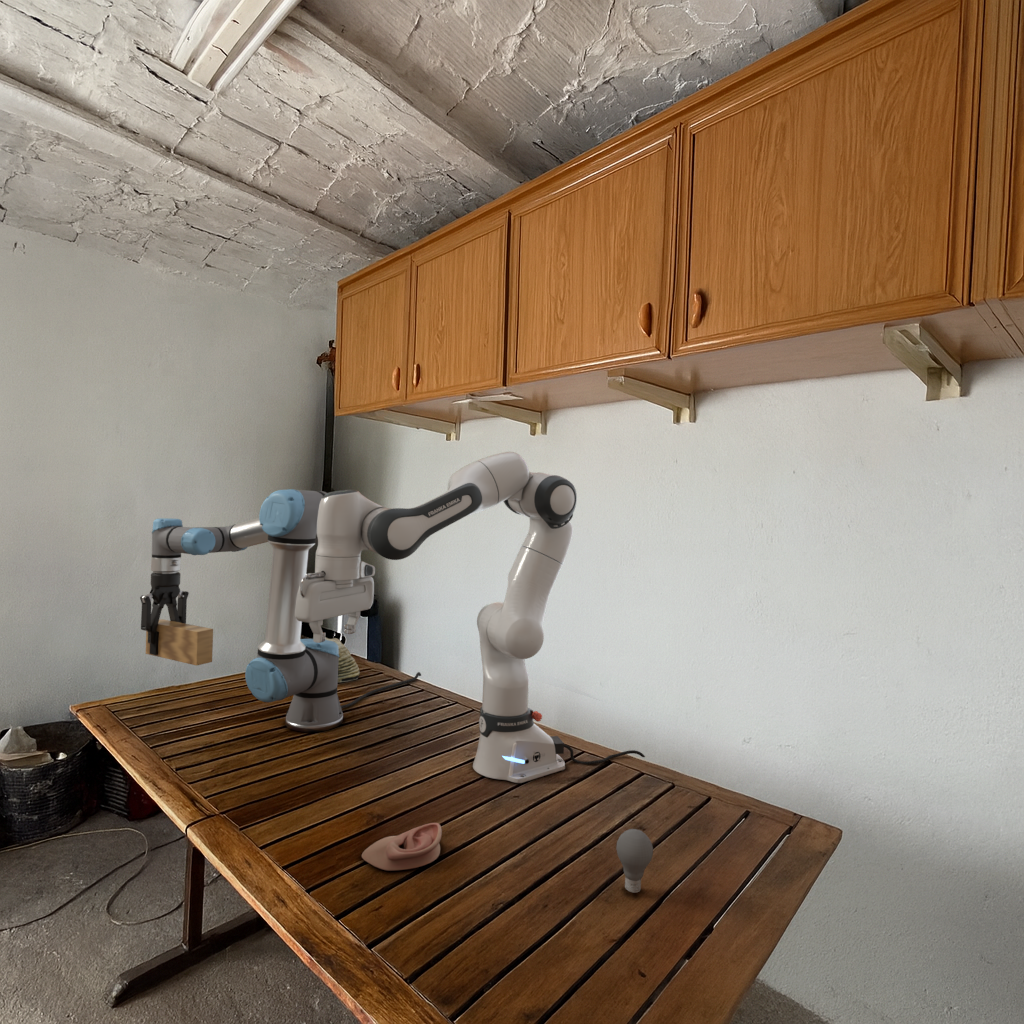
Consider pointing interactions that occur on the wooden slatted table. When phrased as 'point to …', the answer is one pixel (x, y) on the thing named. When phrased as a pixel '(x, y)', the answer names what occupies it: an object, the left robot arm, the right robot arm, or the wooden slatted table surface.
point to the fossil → (345, 663)
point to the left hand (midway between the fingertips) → (163, 652)
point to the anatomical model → (406, 849)
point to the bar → (183, 642)
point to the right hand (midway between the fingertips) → (335, 637)
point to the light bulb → (634, 857)
